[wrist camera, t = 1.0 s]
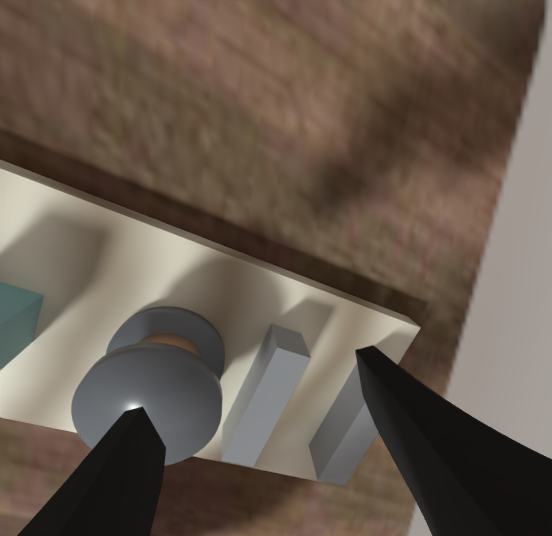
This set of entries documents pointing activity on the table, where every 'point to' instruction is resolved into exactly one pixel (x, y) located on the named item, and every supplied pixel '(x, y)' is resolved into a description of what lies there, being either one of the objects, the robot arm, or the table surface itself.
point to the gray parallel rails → (274, 397)
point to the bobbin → (157, 380)
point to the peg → (17, 320)
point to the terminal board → (168, 292)
